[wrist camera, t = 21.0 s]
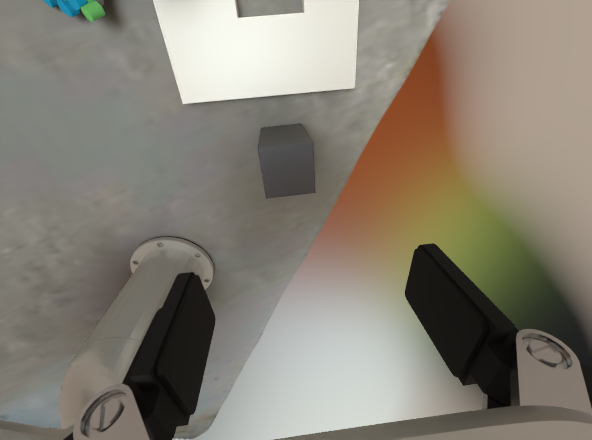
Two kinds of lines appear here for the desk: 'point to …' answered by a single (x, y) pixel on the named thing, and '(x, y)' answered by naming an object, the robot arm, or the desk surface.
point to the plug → (286, 161)
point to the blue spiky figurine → (80, 7)
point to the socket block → (258, 48)
